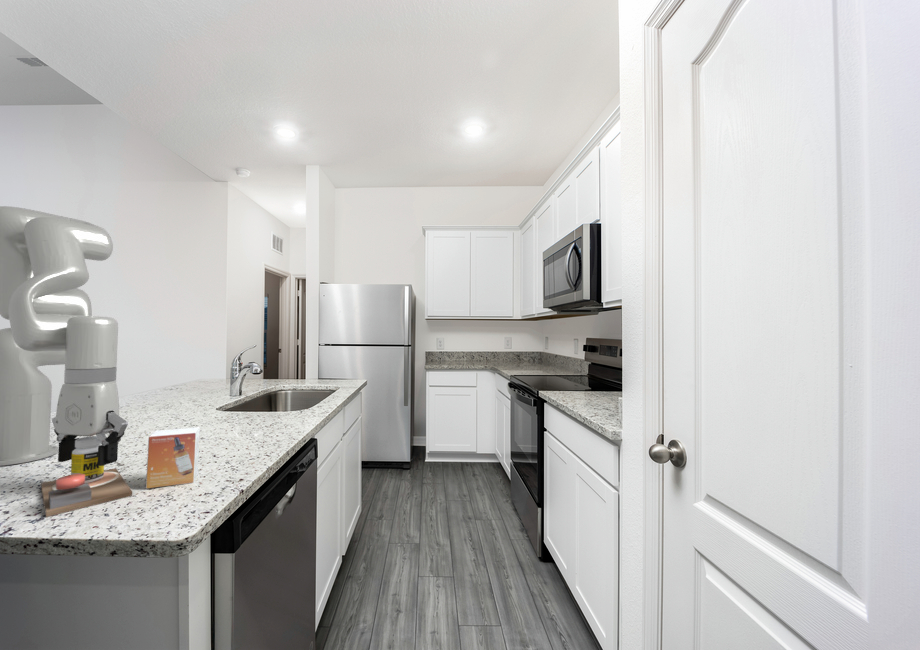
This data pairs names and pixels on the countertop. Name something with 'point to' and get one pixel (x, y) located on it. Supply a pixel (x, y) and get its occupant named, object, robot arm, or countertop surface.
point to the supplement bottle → (87, 459)
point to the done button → (70, 481)
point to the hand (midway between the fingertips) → (87, 461)
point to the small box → (172, 457)
